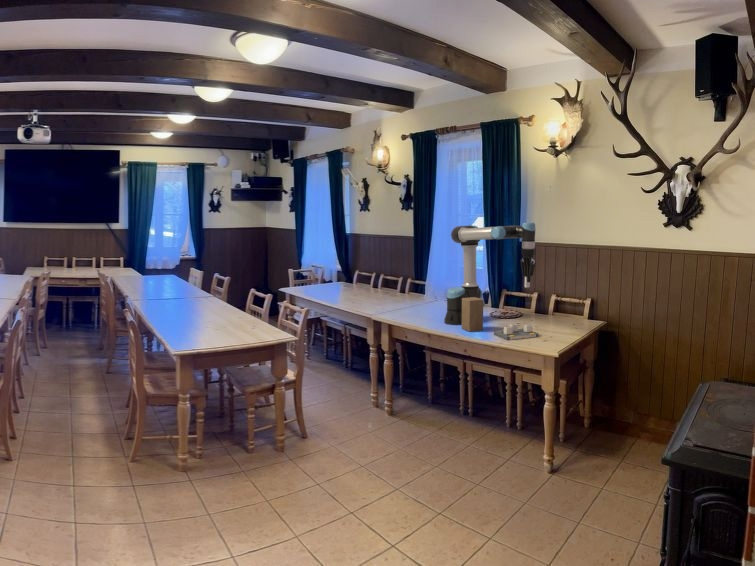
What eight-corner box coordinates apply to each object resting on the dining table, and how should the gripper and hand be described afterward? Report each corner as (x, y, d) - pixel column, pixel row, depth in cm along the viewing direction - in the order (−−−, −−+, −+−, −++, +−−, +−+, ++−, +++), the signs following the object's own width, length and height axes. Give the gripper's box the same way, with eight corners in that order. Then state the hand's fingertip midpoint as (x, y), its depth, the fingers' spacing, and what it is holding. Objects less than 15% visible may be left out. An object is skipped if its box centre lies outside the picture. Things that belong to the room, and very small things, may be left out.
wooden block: (461, 328, 329) (461, 298, 326) (474, 327, 332) (475, 296, 329) (469, 332, 320) (469, 300, 317) (483, 330, 323) (483, 299, 320)
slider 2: (509, 330, 312) (509, 323, 311) (514, 329, 313) (515, 323, 312) (512, 331, 309) (512, 324, 308) (517, 331, 310) (517, 324, 310)
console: (493, 334, 312) (493, 331, 311) (524, 331, 319) (524, 328, 319) (507, 340, 298) (507, 336, 298) (538, 336, 306) (538, 333, 305)
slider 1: (503, 333, 305) (503, 326, 304) (509, 332, 306) (509, 325, 306) (506, 334, 302) (506, 327, 301) (512, 333, 303) (512, 326, 303)
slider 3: (523, 331, 310) (523, 324, 309) (529, 330, 311) (529, 323, 310) (526, 332, 307) (526, 325, 306) (532, 331, 308) (532, 324, 307)
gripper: (516, 247, 313) (515, 286, 317) (529, 249, 301) (528, 289, 304) (526, 247, 316) (525, 285, 319) (540, 248, 304) (539, 288, 307)
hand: (527, 287), depth 312 cm, fingers closed
